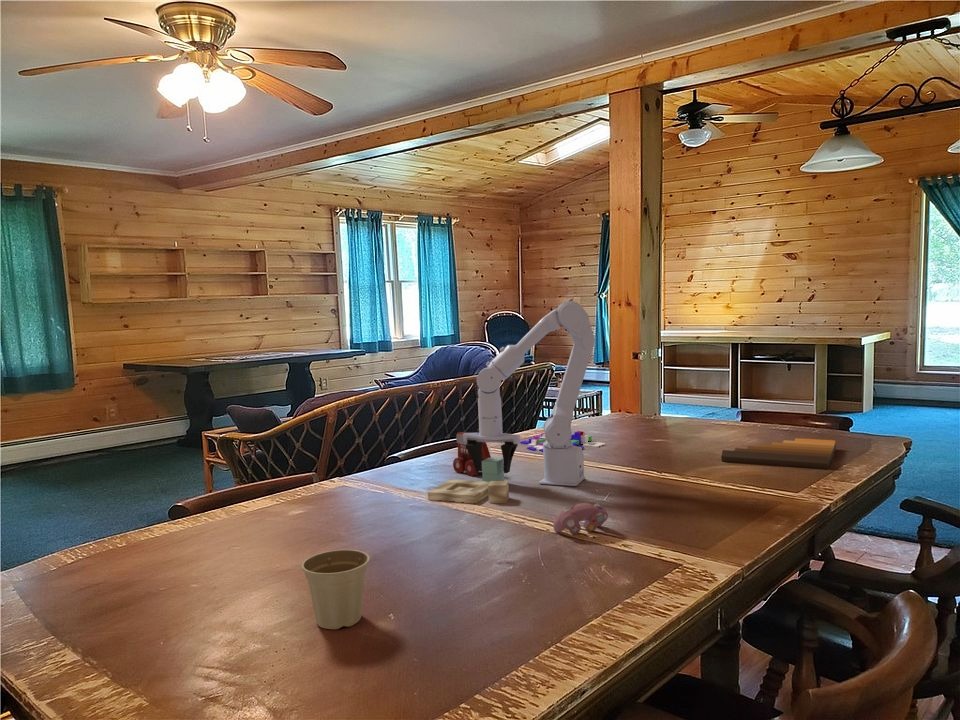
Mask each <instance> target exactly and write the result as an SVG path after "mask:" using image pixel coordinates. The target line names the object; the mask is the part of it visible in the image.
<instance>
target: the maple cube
mask: <svg viewBox="0 0 960 720" xmlns="http://www.w3.org/2000/svg"><path fill="white" fill-rule="evenodd" d="M509 491H510V489H509V480H504V481H490V483H489V485H488V496H487V497H488V503H489V504H490V503H491V504H492V503H493V504H497V503H498V504H504V503H505V504H507V503H508V501H509V498H510V495H509V493H510V492H509Z"/></svg>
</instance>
